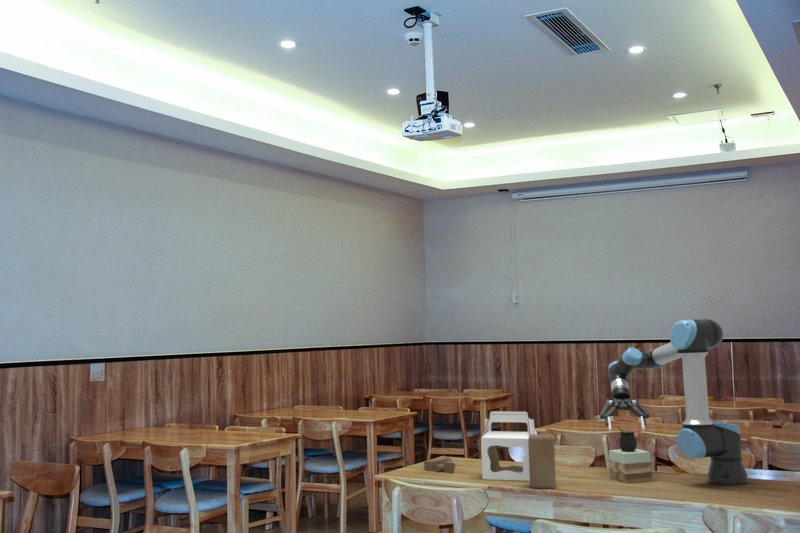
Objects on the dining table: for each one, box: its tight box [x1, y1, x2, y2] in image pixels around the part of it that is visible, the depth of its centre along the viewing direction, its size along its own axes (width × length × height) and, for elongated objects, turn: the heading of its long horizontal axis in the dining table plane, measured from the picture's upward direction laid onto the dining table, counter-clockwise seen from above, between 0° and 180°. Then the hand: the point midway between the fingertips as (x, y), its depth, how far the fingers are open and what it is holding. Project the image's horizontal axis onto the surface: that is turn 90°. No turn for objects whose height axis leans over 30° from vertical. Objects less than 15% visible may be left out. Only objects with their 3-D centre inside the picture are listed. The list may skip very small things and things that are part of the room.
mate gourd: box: [618, 427, 638, 452], centre depth 338 cm, size 7×8×10 cm
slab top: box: [608, 448, 652, 464], centre depth 338 cm, size 12×12×4 cm
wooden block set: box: [423, 456, 456, 474], centre depth 376 cm, size 17×6×18 cm
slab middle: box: [609, 460, 653, 474], centre depth 337 cm, size 12×12×4 cm
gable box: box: [480, 410, 538, 482], centre depth 351 cm, size 22×13×28 cm, turn 68°
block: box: [528, 433, 557, 489], centre depth 328 cm, size 10×10×20 cm
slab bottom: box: [609, 469, 653, 484], centre depth 337 cm, size 12×12×4 cm
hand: (626, 430), depth 343 cm, fingers open, 13 cm apart
